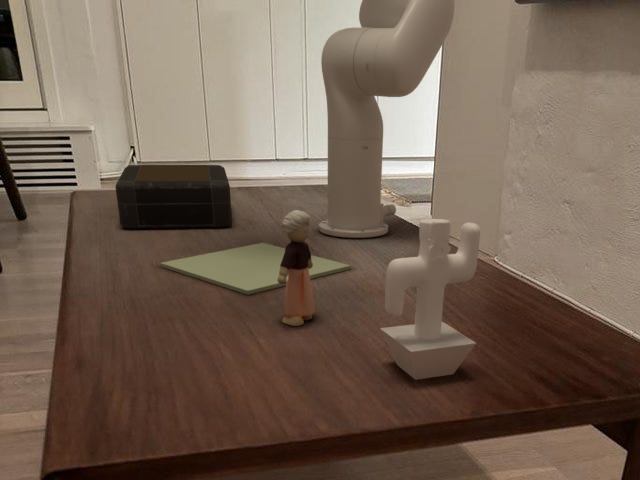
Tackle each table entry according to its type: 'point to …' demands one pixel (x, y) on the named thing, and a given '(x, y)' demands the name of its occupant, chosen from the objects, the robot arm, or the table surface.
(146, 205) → the cash box
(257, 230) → the table surface
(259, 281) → the mat
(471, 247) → the figurine
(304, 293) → the grandmother figurine
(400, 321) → the table surface
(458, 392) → the table surface
